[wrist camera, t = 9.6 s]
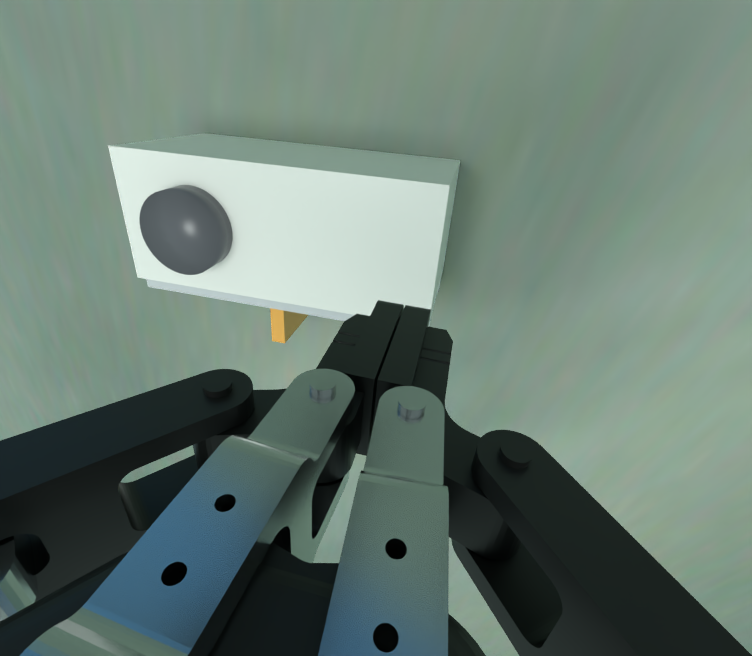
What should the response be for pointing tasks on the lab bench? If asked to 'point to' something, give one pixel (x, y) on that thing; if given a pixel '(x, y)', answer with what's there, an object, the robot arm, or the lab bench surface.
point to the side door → (284, 324)
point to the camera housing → (286, 222)
